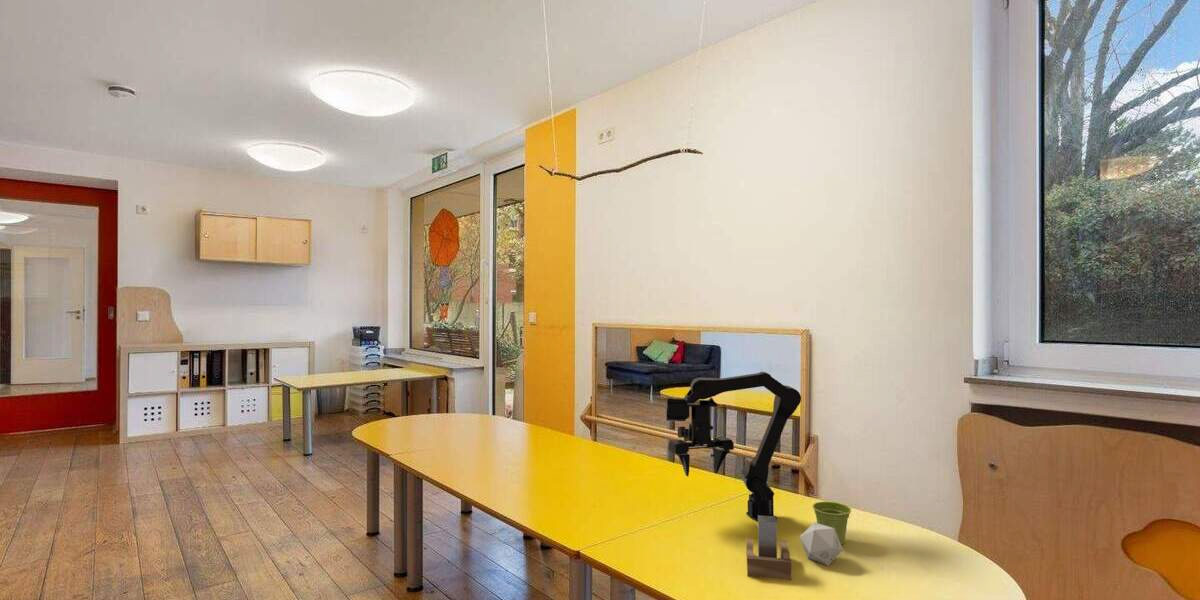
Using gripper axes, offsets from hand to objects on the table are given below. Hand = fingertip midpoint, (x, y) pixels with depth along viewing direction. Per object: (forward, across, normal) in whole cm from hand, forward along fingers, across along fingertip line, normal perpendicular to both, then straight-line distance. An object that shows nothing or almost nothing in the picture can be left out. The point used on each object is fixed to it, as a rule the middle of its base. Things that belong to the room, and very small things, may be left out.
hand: (701, 474), depth 172 cm
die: (+12, -14, +36) cm, 40 cm away
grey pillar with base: (+12, 0, +35) cm, 37 cm away
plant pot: (+12, -24, +27) cm, 38 cm away
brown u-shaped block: (+12, 0, +35) cm, 37 cm away
